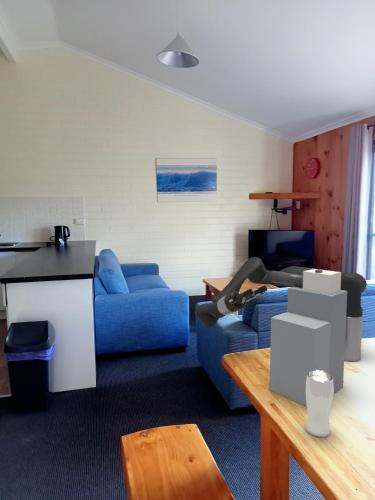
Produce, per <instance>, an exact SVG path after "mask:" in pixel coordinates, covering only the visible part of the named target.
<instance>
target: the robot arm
mask: <svg viewBox="0 0 375 500" xmlns="http://www.w3.org/2000/svg"><path fill="white" fill-rule="evenodd" d="M312 269H313V268H312V267H311V268H310V267H303V266H296V265H293V266H288V267H286V268H283V269H282V270H278V272H285V273H292V274H298V275H303V271H307V270H312ZM272 271H273V270H269V269H266V267H265V264H264V263H263V261H262V259H261V258H259V257H256V256H254V257H251V258H248V259H247V260H246V261H244V263H243V264H242V265H241V267H240V268H239V269H238V270H237V272H236V273H235V274H234V276H233V277H232V279H230V281H229V282H228V283H227V284H226V285H225V286H224V287H223V289H222V290H220V291H219V292H218V293H217V294H216V295H215V296H214V297H213V298H212V300H211V302H206V303H203V304H199V305H198V306H197V307H196V309H195V311H194V315H195V317H196V318H197V319H198V321H200V322H201V324H202V325H203V326H204V327H205V328H206V329H207V328H208V329H210V328H213V327H215V325H216V324H217V323H218V321H219V319H222V318H224V317H226V316H229V315H231V314H234V313H236V312H238V311H241V310H242V309H244V308H245V306H246V303H247V302H250V301H251V300H254V299H256V298H258V297H259V296H262V295H263V294H264V293H265V292H267V291H269V290H268V288H267V285H271V286H272V285H273V286H274V285H275V286H280V287H281V286H282V287H288V288H291V287H294V286H292V285H287V284H281V283H275V282H271V281H270V273H271V272H272ZM340 272H341V287H340V290H344V291H347V308H346V331H345V354H344V362H345V361H346V362H358V361H360V360H361V359H362V358H361V355H362V336H363V315H364V313H363V311H364V309H363V307H362V294H363V292H365V290H366V289H367V285H368V284H367V280H366V278H365V277H364V276H363V275H361V274H360V273H358V272H354V271H352V272H351V271H350V272H349V271H348V272H347V271H346V272H345V271H343V272H342V271H340ZM247 279H248V281H249V282H250V283H252V284H257V285H263V286H260V287H257V288H256V289H255V288H254V289H252V288H248V289H247V290H245V291H241V292H240V290H241V288H242V286H243V285H244V283H245V281H246V280H247Z"/></svg>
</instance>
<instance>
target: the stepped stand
mask: <svg viewBox="0 0 375 500" xmlns="http://www.w3.org/2000/svg"><path fill="white" fill-rule="evenodd" d="M286 308H287V309H286V310H287V311H286V312H283V313H280V314H277V315H273V316H272V317H270V348H269V349H270V352H269V353H270V354H269V355H270V357H269V359H270V360H269V390H270V391H272V392H274V393H276V394H279V395H281V396H283V397H284V398H287V399H289V400H291V401H294V402H296V403H298V404H300V405H303V406H304V407H307V405H306V398H305V383H306V374H307V372H308V371H311V370H320V371H325V372H327V373H329V374H331V375H332V376H333V384H334V394H336V393H338V392H339V391H340V390H342V389H343V388H344V374H345V373H344V371H345V370H344V369H345V360H344V354H345V331H346V308H347V291H344V290H340V291H339V292H336V293H333V294H330V295H329V294H323V293H318V292H312V291H307V290H303V287H298V286H294V287H288V288H287V307H286Z"/></svg>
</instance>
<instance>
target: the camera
mask: <svg viewBox="0 0 375 500" xmlns="http://www.w3.org/2000/svg"><path fill="white" fill-rule="evenodd" d="M271 271H272V272H271V273H270V281H271V282H275V283H281V284H287V285H292V286H298V287H303V290H307V291H312V292H318V293H323V294H329V295H330V294H333V293H336V292H339V291H340V287H341V272H342V271H334V270H326V269H325V270H324V269H317V268H312V270H307V271H303V275H298V274H292V273H285V272H278V271H279V270H278V271H277V270H271Z"/></svg>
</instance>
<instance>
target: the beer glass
mask: <svg viewBox="0 0 375 500" xmlns="http://www.w3.org/2000/svg"><path fill="white" fill-rule="evenodd" d="M334 395H335V393H334V384H333V376H332V375H331V374H329V373H327V372H325V371H320V370H311V371H308V372H307V374H306V383H305V398H306V405H307V406H306V411H307V419H306V422H305V429H306V431H307V433H309V434H310V435H312V436H314V437H318V438H325V437H328V436H330V434H331V427H330V415H331V411H332V407H333V401H334Z"/></svg>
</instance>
